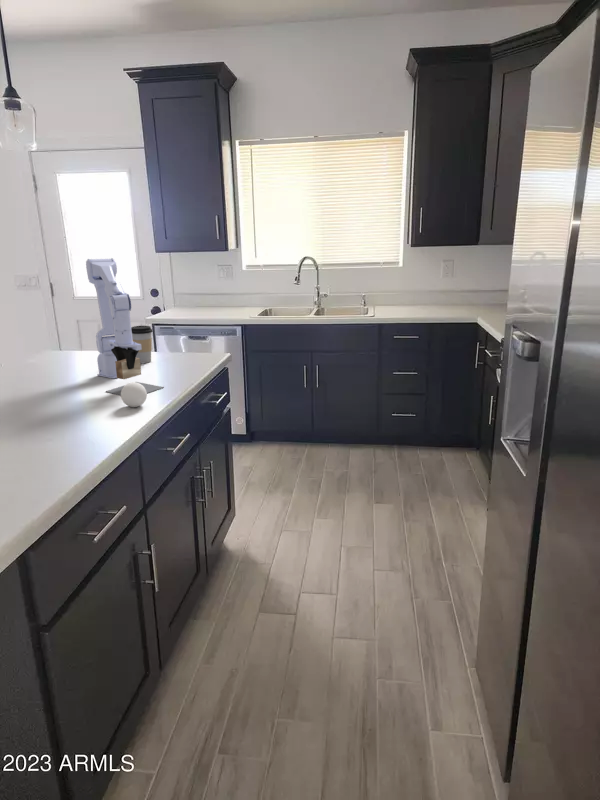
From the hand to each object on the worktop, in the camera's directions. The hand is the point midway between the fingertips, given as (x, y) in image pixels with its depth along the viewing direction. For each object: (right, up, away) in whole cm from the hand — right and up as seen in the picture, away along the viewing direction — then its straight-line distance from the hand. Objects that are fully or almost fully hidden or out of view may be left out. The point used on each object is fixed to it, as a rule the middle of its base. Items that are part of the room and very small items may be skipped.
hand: (127, 368), depth 184 cm
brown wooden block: (0, -3, +2) cm, 3 cm away
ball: (+8, -14, -16) cm, 23 cm away
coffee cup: (-6, +5, +41) cm, 42 cm away
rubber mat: (+3, -8, +1) cm, 8 cm away
